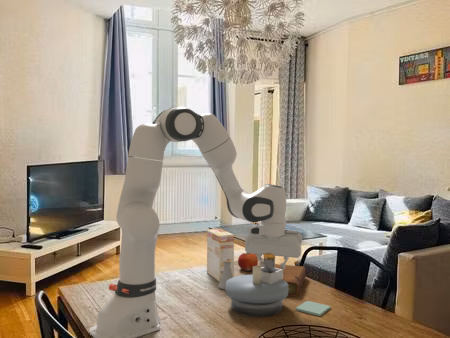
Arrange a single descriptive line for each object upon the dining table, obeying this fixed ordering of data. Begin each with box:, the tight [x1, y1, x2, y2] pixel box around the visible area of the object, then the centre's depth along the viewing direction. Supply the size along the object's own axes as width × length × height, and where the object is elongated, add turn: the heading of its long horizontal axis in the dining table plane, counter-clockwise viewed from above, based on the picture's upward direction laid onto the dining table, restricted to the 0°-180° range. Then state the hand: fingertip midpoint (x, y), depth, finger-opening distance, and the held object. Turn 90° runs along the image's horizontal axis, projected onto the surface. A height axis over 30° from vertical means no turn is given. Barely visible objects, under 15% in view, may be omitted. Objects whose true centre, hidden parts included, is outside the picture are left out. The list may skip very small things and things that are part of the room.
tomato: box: [237, 252, 259, 272], centre depth 202 cm, size 9×9×8 cm
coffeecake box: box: [206, 228, 235, 283], centre depth 191 cm, size 15×7×20 cm, turn 23°
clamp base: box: [230, 298, 283, 318], centre depth 156 cm, size 18×18×5 cm
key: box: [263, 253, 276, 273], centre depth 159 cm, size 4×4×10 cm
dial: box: [225, 265, 289, 303], centre depth 156 cm, size 22×22×9 cm
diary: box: [261, 263, 306, 297], centre depth 181 cm, size 23×19×6 cm
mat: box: [295, 300, 331, 317], centre depth 154 cm, size 9×9×1 cm
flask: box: [217, 262, 232, 291], centre depth 177 cm, size 7×7×10 cm
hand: (272, 267), depth 159 cm, fingers open, 6 cm apart
